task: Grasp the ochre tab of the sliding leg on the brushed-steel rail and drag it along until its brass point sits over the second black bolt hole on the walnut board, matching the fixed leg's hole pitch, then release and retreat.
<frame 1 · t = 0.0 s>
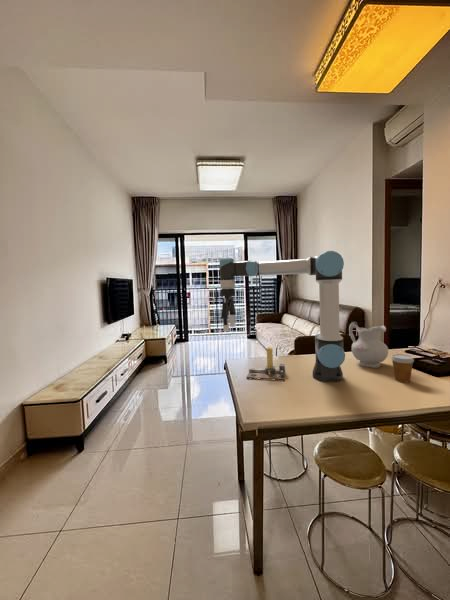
hand: (229, 328, 140), 28 cm above the table, fingers open, 13 cm apart
disposable coffee cup: (402, 380, 133), on the table
sliding leg: (269, 360, 147), point 8 cm above the table, slide at 5.0 cm
pitch board: (266, 375, 147), on the table
ceramic pitcher: (367, 364, 159), on the table
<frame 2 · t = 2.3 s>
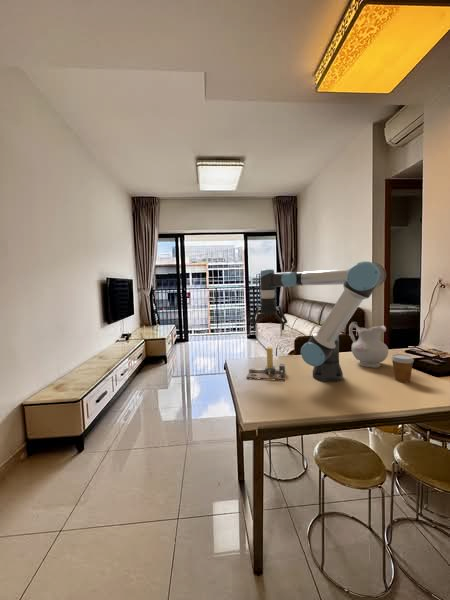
hand: (269, 335, 148), 22 cm above the table, fingers open, 13 cm apart
nothing on the table moved.
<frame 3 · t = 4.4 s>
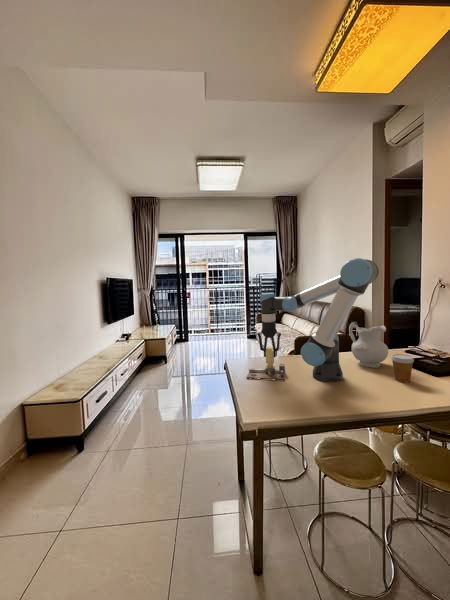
hand: (270, 362, 149), 7 cm above the table, fingers closed on sliding leg, 3 cm apart
sliding leg: (269, 360, 147), point 8 cm above the table, slide at 5.0 cm, touching gripper
everything else where it was.
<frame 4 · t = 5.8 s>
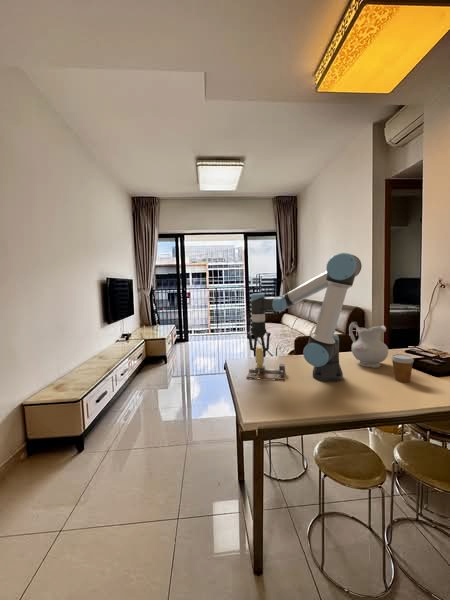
hand: (260, 362, 151), 7 cm above the table, fingers closed on sliding leg, 3 cm apart
sliding leg: (259, 360, 148), point 8 cm above the table, slide at 10.7 cm, touching gripper
everything else where it was.
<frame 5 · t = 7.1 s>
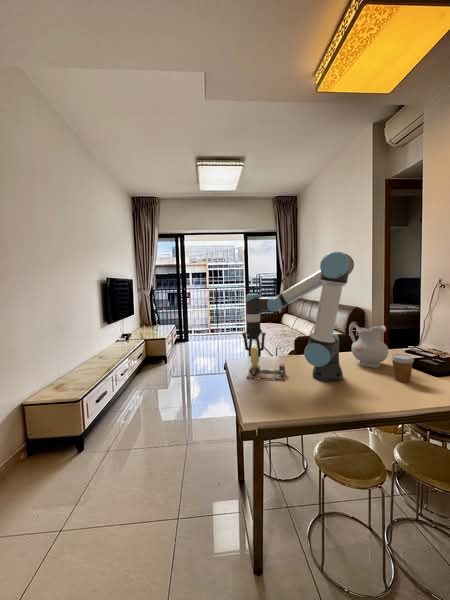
hand: (255, 362, 151), 7 cm above the table, fingers closed on sliding leg, 3 cm apart
sliding leg: (254, 360, 149), point 8 cm above the table, slide at 13.5 cm, touching gripper
everything else where it was.
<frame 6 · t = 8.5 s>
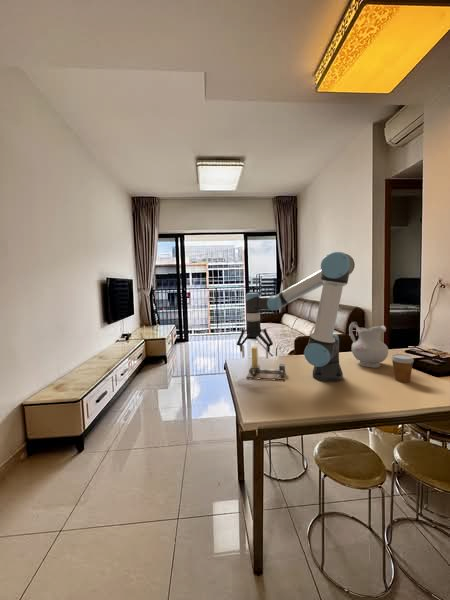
hand: (255, 357, 151), 9 cm above the table, fingers open, 13 cm apart
sliding leg: (254, 360, 149), point 8 cm above the table, slide at 13.5 cm
everything else where it was.
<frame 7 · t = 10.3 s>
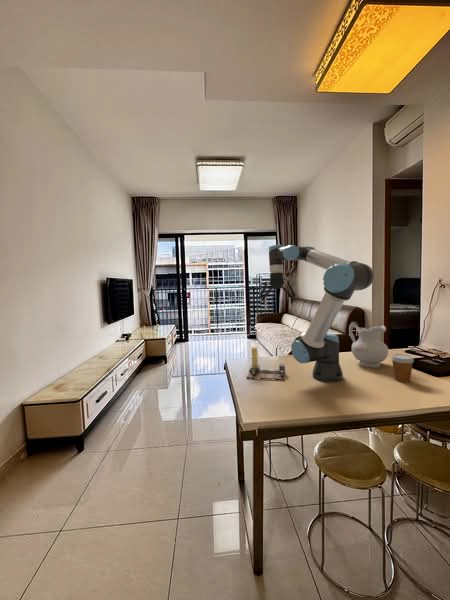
hand: (277, 309, 154), 35 cm above the table, fingers open, 13 cm apart
nothing on the table moved.
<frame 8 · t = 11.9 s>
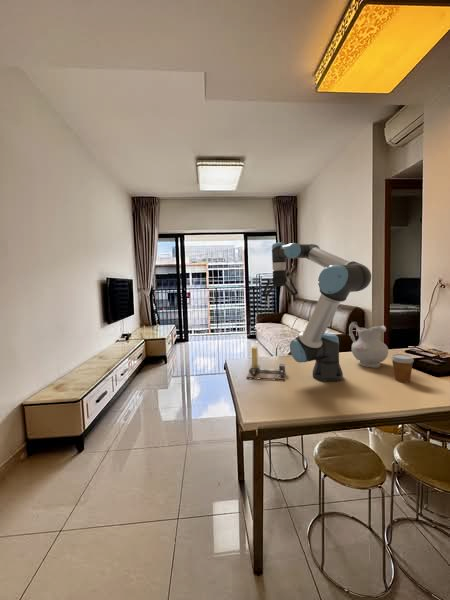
hand: (280, 306, 155), 37 cm above the table, fingers open, 13 cm apart
nothing on the table moved.
at the end: sliding leg slide at 13.5 cm; the gripper is holding nothing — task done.
